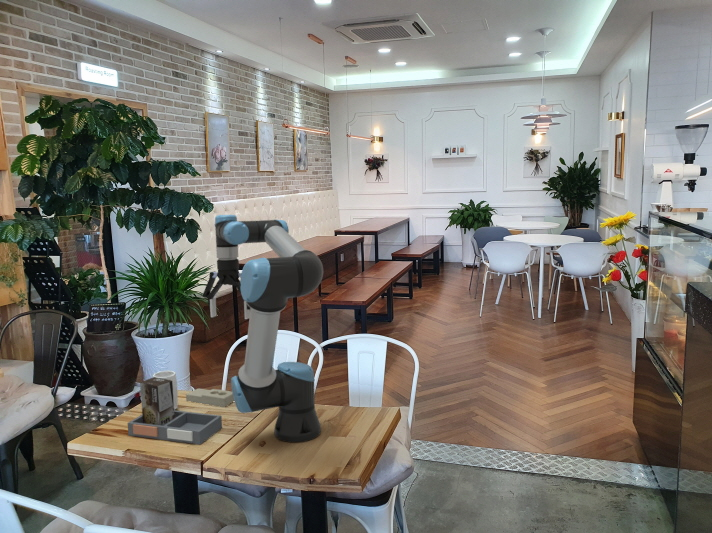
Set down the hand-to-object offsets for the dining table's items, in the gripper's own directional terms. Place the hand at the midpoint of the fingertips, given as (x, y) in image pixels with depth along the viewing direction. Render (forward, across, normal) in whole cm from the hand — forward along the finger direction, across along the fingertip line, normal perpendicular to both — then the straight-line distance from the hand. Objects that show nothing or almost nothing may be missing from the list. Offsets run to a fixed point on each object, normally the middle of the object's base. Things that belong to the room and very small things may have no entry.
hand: (230, 317), depth 201 cm
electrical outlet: (+35, +14, -6) cm, 38 cm away
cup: (+35, +24, +7) cm, 43 cm away
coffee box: (+34, +16, +22) cm, 44 cm away
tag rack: (+35, +10, +22) cm, 42 cm away
